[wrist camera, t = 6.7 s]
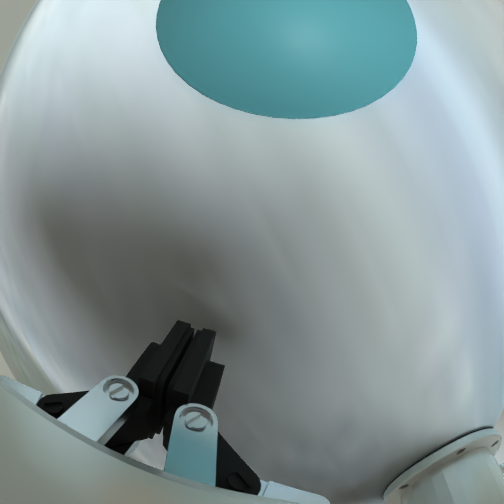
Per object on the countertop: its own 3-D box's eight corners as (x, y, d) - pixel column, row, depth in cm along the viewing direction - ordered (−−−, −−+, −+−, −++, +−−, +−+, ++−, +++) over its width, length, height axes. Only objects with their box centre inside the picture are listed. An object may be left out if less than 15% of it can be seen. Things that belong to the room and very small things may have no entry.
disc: (416, -27, 7) (417, -28, 7) (396, 158, 10) (398, 158, 10) (203, -68, 7) (203, -70, 7) (124, 96, 10) (122, 95, 10)
